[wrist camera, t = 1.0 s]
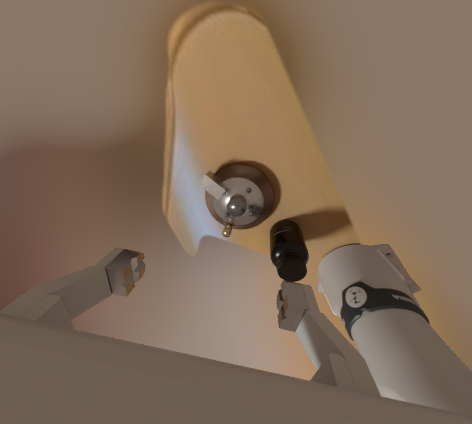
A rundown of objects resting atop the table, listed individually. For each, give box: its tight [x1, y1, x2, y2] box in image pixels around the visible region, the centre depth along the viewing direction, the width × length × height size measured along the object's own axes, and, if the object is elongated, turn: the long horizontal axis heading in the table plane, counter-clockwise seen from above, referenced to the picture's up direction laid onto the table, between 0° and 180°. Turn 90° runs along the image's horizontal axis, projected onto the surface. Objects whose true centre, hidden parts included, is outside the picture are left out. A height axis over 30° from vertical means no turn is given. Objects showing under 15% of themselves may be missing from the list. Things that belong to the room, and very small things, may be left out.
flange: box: [199, 171, 264, 225], centre depth 34 cm, size 13×10×4 cm
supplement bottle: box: [270, 220, 309, 282], centre depth 35 cm, size 7×7×12 cm
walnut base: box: [205, 164, 274, 237], centre depth 36 cm, size 14×14×6 cm
